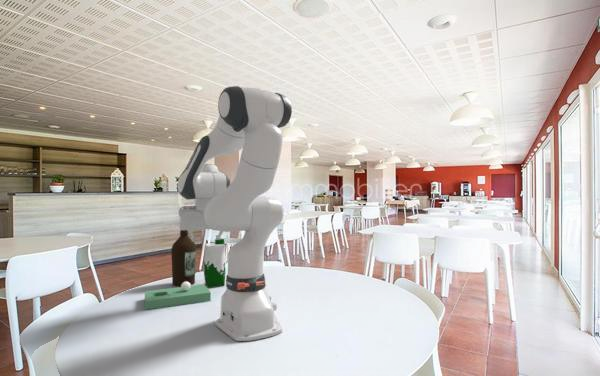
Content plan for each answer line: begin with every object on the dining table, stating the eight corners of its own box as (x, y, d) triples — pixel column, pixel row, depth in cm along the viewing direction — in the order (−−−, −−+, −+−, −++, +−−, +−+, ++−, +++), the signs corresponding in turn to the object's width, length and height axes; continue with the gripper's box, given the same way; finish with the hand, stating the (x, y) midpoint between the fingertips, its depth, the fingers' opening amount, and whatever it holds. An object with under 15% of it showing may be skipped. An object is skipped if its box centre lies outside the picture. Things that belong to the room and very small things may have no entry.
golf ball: (191, 291, 122) (191, 282, 122) (181, 292, 120) (181, 283, 120) (190, 289, 125) (190, 280, 125) (180, 290, 123) (180, 281, 124)
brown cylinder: (165, 285, 141) (166, 228, 142) (183, 279, 151) (183, 226, 152) (184, 288, 137) (184, 229, 138) (201, 282, 147) (201, 227, 148)
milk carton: (227, 286, 140) (227, 240, 141) (205, 288, 136) (205, 241, 137) (222, 281, 148) (223, 237, 149) (202, 283, 144) (202, 238, 145)
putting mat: (204, 291, 132) (204, 284, 132) (210, 300, 120) (210, 292, 120) (144, 299, 122) (144, 291, 122) (145, 309, 111) (145, 301, 111)
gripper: (179, 206, 120) (179, 243, 120) (233, 205, 129) (233, 240, 129) (177, 205, 125) (177, 240, 125) (230, 204, 134) (229, 237, 134)
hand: (206, 240), depth 127 cm, fingers open, 8 cm apart
